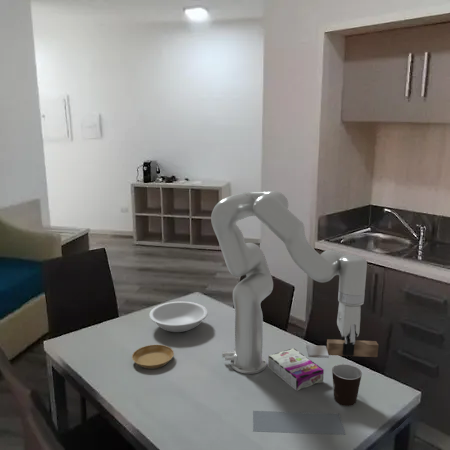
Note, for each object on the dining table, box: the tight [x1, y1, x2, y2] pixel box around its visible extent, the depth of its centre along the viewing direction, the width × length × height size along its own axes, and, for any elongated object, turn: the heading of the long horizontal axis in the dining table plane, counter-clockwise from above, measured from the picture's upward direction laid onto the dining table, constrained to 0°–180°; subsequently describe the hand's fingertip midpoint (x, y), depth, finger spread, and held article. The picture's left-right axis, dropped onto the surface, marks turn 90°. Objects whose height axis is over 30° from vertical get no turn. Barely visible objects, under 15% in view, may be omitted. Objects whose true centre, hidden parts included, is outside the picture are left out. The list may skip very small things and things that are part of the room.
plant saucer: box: [131, 344, 175, 370], centre depth 161 cm, size 15×15×3 cm
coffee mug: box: [331, 363, 363, 407], centre depth 138 cm, size 12×9×10 cm
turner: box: [305, 338, 379, 359], centre depth 139 cm, size 21×6×4 cm, turn 87°
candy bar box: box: [267, 347, 325, 391], centre depth 151 cm, size 11×5×16 cm
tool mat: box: [252, 410, 347, 436], centre depth 127 cm, size 25×9×1 cm, turn 87°
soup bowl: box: [148, 300, 209, 333], centre depth 186 cm, size 24×24×7 cm
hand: (346, 352), depth 139 cm, fingers closed on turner, 2 cm apart
